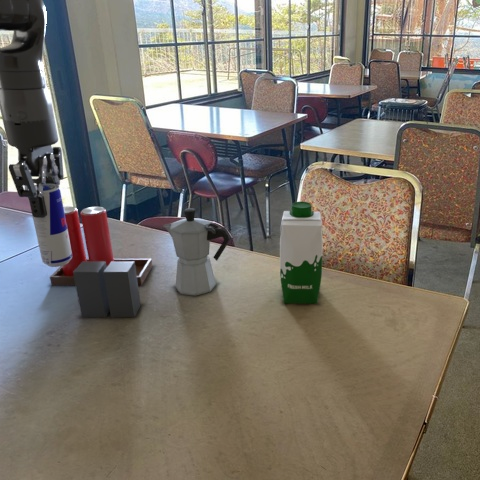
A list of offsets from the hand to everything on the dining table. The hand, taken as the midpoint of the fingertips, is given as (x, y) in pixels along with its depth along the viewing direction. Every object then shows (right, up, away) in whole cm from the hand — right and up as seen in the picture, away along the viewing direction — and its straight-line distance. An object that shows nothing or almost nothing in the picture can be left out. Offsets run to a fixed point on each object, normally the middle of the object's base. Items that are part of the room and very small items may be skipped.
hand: (47, 210), depth 87 cm
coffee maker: (+23, -16, +19) cm, 34 cm away
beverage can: (0, -10, +4) cm, 11 cm away
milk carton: (+45, -17, +17) cm, 51 cm away
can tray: (0, -13, +22) cm, 26 cm away
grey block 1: (+5, -20, +9) cm, 22 cm away
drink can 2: (0, -13, +22) cm, 26 cm away
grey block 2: (+10, -20, +9) cm, 24 cm away
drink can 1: (-6, -13, +22) cm, 26 cm away
